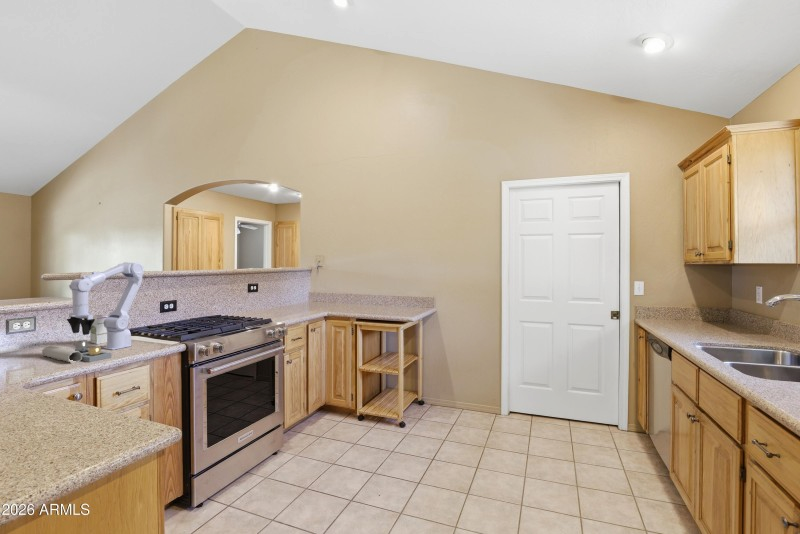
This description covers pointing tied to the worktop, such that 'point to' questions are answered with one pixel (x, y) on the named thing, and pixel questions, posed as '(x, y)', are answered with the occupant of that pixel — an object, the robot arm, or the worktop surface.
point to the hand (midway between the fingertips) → (80, 333)
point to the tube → (62, 354)
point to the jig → (95, 358)
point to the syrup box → (98, 330)
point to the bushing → (81, 346)
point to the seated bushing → (94, 351)
